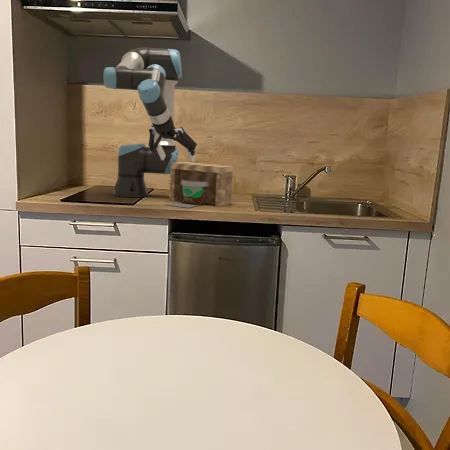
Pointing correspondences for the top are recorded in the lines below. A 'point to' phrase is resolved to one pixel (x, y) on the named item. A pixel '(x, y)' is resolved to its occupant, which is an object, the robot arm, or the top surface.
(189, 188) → the food container
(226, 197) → the open oak shelf box
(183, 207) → the grey mat
